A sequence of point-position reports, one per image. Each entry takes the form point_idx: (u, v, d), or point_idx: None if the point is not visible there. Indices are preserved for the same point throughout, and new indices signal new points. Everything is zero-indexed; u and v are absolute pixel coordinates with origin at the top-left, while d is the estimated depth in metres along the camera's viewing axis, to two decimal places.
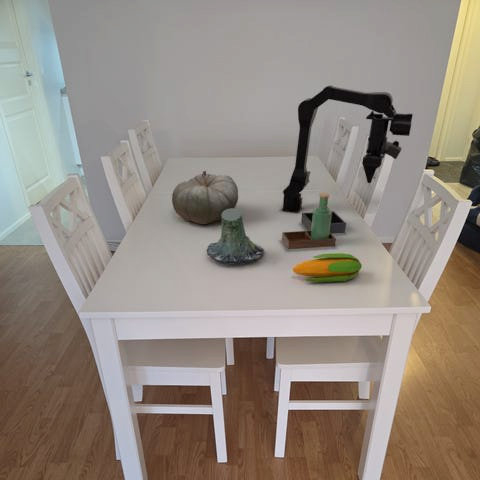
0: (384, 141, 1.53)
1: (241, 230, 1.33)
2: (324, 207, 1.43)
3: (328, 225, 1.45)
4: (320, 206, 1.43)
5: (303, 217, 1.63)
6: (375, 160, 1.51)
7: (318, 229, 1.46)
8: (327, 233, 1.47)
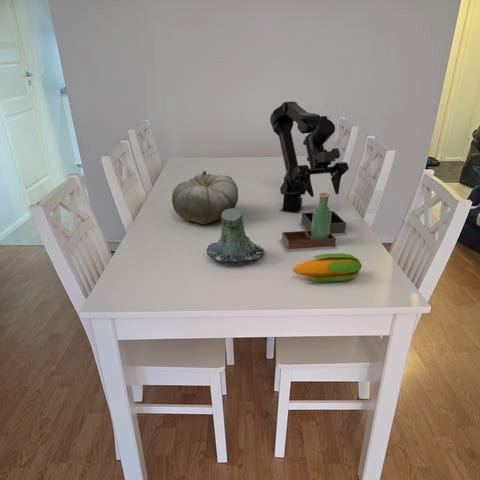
0: (313, 153, 1.49)
1: (241, 230, 1.33)
2: (324, 207, 1.43)
3: (328, 225, 1.45)
4: (320, 206, 1.43)
5: (303, 217, 1.63)
6: (295, 170, 1.48)
7: (318, 229, 1.46)
8: (327, 233, 1.47)
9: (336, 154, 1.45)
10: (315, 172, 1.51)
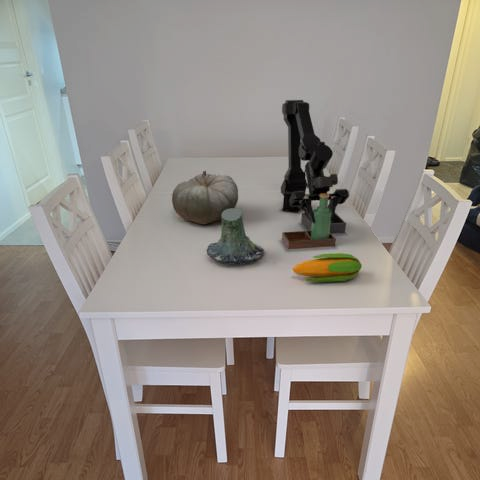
0: (311, 179, 1.45)
1: (241, 230, 1.33)
2: (324, 207, 1.43)
3: (328, 225, 1.45)
4: (320, 206, 1.43)
5: (303, 217, 1.63)
6: (292, 196, 1.45)
7: (318, 229, 1.46)
8: (327, 233, 1.47)
9: (333, 180, 1.40)
10: (313, 198, 1.47)
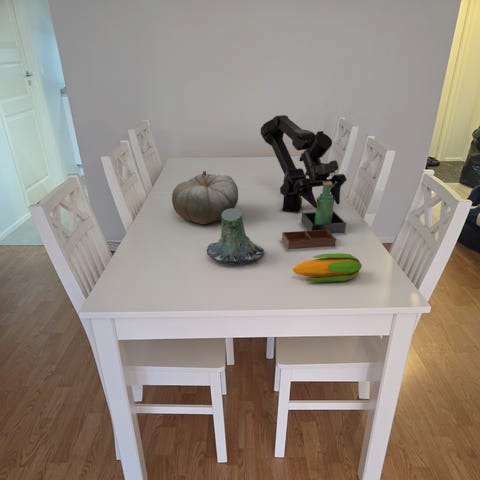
0: (312, 166, 1.55)
1: (241, 230, 1.33)
2: (328, 194, 1.54)
3: (332, 210, 1.57)
4: (324, 193, 1.54)
5: (303, 217, 1.63)
6: (297, 183, 1.53)
7: (323, 215, 1.57)
8: (331, 218, 1.58)
9: (335, 165, 1.51)
10: (315, 185, 1.57)
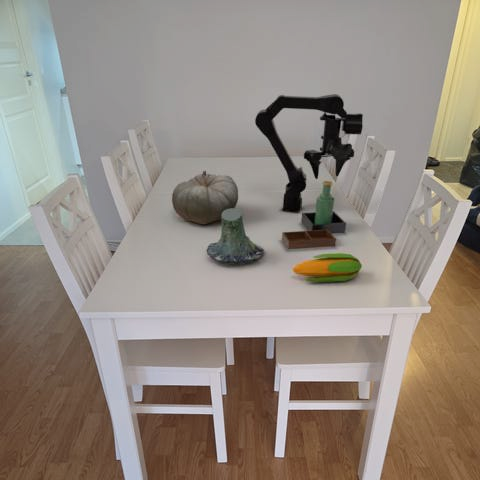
0: (329, 141, 1.61)
1: (241, 230, 1.33)
2: (328, 194, 1.54)
3: (332, 210, 1.57)
4: (324, 193, 1.54)
5: (303, 217, 1.63)
6: (309, 156, 1.62)
7: (323, 215, 1.57)
8: (331, 218, 1.58)
9: (348, 153, 1.60)
10: (325, 156, 1.66)
